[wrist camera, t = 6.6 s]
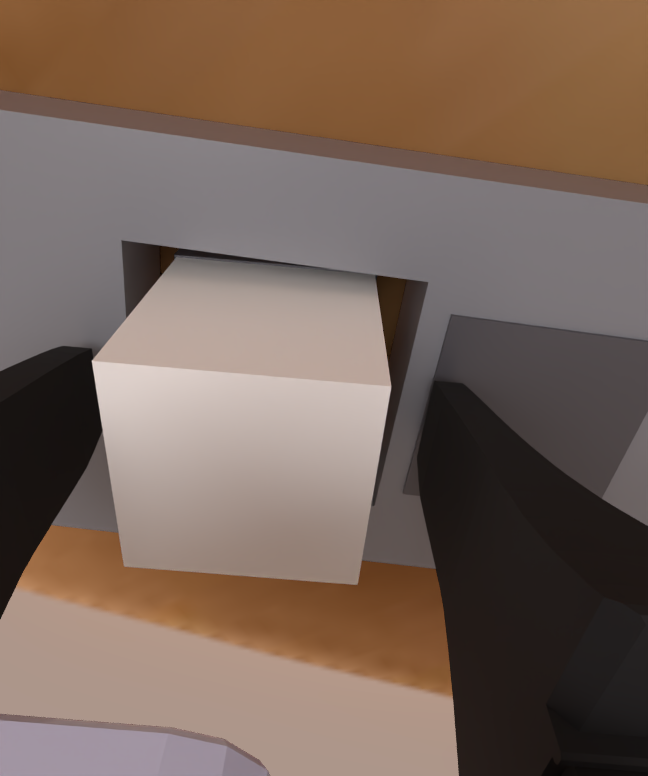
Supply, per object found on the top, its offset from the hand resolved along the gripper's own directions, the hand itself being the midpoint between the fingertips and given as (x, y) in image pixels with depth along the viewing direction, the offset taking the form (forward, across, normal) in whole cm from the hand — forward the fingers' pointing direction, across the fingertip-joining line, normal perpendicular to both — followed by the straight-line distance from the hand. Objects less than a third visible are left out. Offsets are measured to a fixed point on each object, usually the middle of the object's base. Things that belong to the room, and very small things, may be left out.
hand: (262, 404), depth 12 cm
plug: (+3, 0, 0) cm, 3 cm away
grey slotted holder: (+3, -3, 0) cm, 4 cm away
